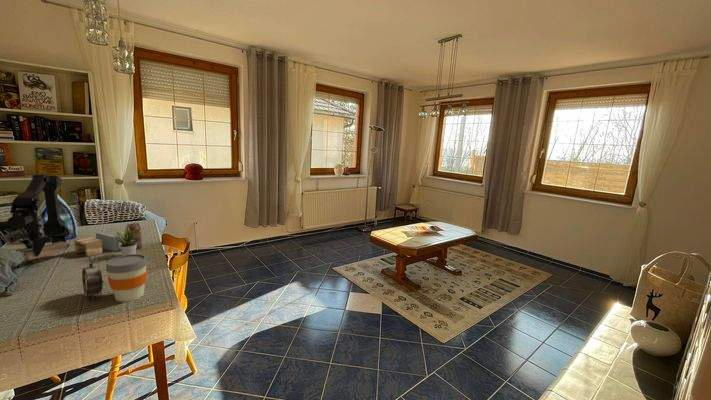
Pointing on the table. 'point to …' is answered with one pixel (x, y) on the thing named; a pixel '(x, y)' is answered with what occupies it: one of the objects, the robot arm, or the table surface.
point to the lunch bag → (64, 215)
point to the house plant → (128, 241)
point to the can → (138, 241)
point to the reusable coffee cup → (127, 276)
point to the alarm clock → (92, 280)
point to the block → (88, 246)
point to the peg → (46, 250)
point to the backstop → (108, 241)
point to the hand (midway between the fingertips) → (34, 255)
